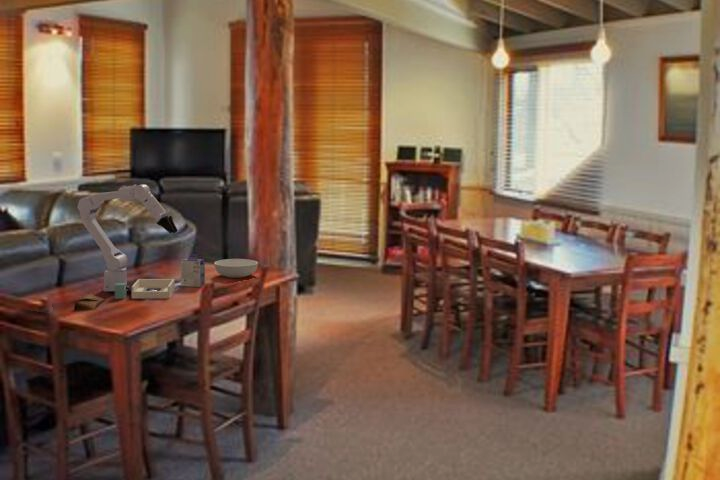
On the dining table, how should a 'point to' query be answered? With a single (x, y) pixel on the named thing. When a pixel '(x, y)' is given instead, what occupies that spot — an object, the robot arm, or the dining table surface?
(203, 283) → the ink cartridge box
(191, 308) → the dining table surface
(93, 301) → the sunglasses case
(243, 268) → the serving bowl
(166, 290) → the walled box
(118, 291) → the block
